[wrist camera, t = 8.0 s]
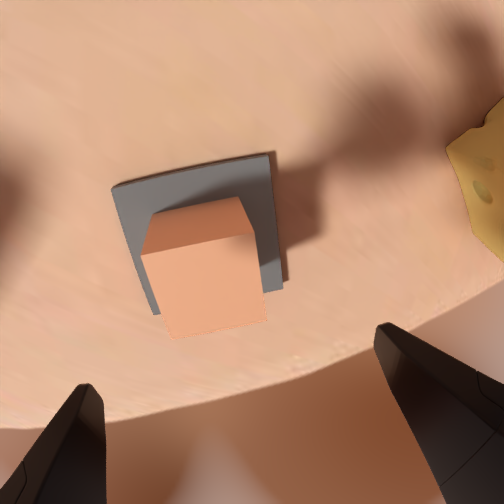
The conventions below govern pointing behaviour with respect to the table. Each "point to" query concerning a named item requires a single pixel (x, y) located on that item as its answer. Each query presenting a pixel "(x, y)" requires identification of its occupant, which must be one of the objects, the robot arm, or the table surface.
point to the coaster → (201, 191)
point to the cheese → (483, 177)
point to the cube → (204, 268)
